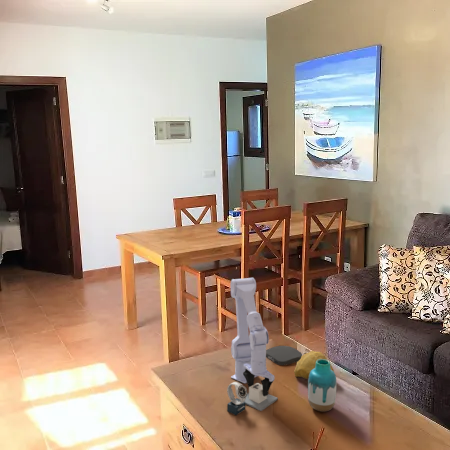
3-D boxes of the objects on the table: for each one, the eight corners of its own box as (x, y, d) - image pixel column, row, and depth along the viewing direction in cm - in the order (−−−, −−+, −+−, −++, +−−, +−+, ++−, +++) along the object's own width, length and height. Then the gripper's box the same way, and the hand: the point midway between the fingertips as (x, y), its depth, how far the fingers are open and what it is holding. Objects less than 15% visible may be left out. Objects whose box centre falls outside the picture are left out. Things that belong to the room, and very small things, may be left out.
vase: (337, 403, 193) (338, 358, 190) (333, 418, 184) (335, 370, 180) (309, 399, 197) (311, 354, 193) (305, 413, 187) (306, 365, 184)
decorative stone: (304, 386, 202) (327, 357, 204) (283, 366, 215) (305, 339, 216) (320, 398, 210) (342, 370, 211) (299, 378, 222) (320, 352, 223)
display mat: (255, 390, 204) (255, 388, 203) (277, 399, 197) (277, 397, 196) (238, 401, 195) (238, 399, 195) (261, 411, 188) (261, 409, 188)
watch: (239, 417, 184) (240, 390, 182) (223, 409, 190) (223, 382, 188) (249, 411, 188) (249, 384, 186) (233, 403, 194) (233, 377, 192)
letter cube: (248, 398, 196) (249, 386, 195) (257, 394, 199) (257, 382, 198) (258, 403, 192) (258, 391, 191) (266, 398, 196) (267, 386, 195)
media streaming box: (305, 359, 232) (305, 353, 231) (280, 367, 224) (281, 361, 224) (285, 348, 244) (285, 343, 244) (261, 355, 237) (261, 349, 236)
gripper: (279, 362, 191) (279, 394, 193) (251, 350, 201) (251, 381, 203) (267, 368, 186) (267, 401, 188) (239, 356, 196) (239, 388, 198)
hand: (258, 391), depth 195 cm, fingers open, 7 cm apart
